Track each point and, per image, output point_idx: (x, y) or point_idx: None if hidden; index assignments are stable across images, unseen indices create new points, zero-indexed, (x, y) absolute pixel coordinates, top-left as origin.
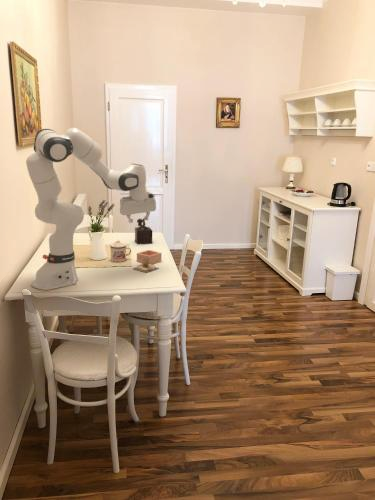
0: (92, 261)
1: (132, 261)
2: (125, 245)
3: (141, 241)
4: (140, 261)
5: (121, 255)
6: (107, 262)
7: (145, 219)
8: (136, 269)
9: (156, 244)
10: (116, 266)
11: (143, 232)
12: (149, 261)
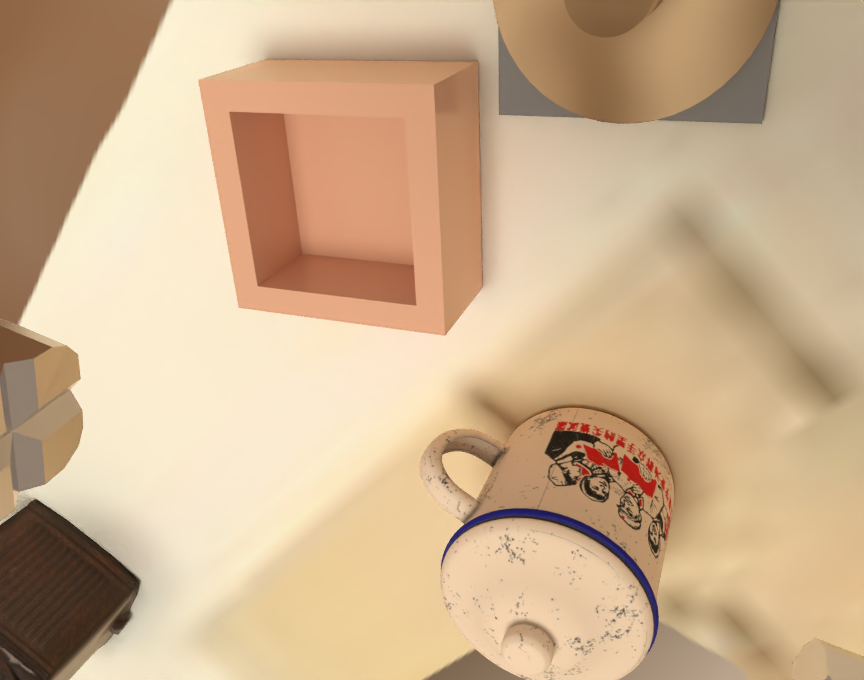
0: None
1: (516, 328)
2: (487, 527)
3: (94, 575)
4: (476, 232)
5: (602, 461)
6: (740, 525)
7: (46, 384)
8: (773, 40)
9: None
10: (805, 361)
11: (11, 627)
12: (459, 71)
